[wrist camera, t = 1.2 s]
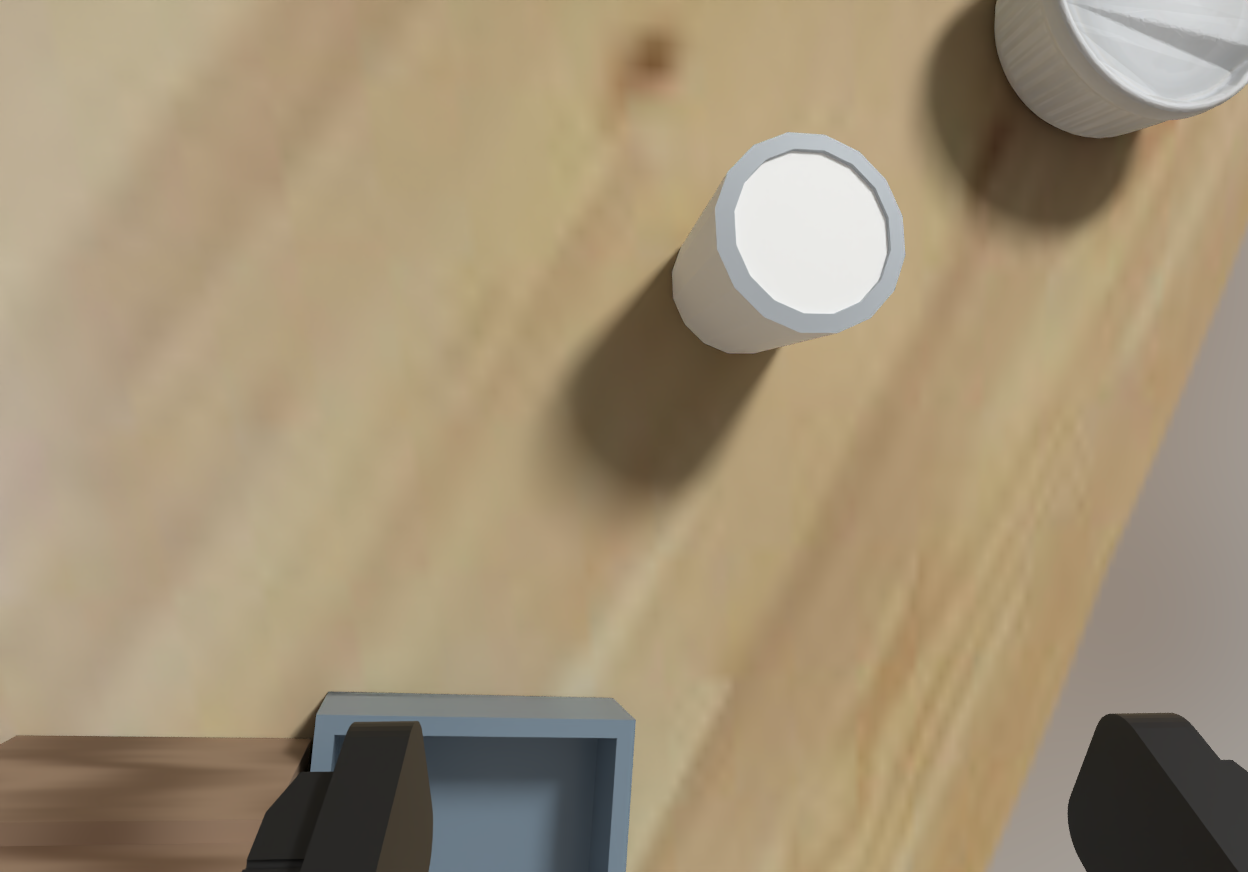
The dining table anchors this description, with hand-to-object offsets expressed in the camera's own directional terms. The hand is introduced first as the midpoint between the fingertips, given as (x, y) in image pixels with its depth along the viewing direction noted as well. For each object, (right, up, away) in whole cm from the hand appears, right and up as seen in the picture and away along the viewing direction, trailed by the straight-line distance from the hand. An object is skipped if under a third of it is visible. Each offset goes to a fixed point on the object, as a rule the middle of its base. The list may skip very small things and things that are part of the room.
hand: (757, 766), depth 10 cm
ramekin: (+19, +22, +30) cm, 42 cm away
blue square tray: (-7, -10, +20) cm, 24 cm away
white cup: (+3, +10, +25) cm, 27 cm away
